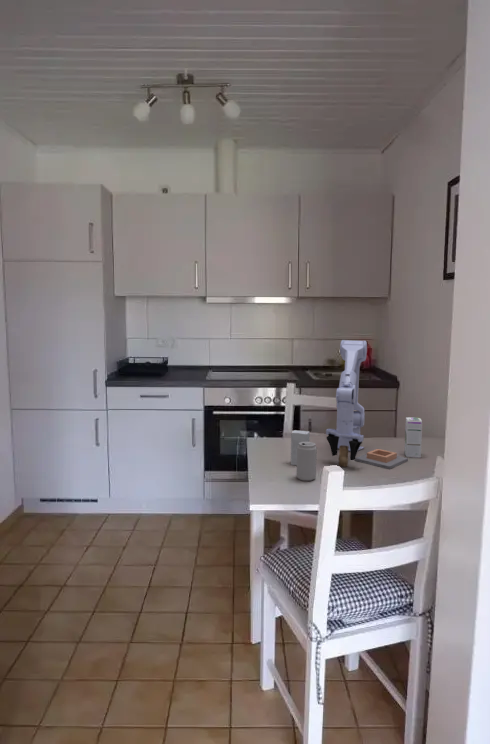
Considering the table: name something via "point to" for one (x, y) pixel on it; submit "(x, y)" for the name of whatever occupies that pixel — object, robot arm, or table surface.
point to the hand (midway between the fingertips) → (343, 457)
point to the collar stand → (382, 458)
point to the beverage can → (306, 461)
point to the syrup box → (413, 437)
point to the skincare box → (297, 443)
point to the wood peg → (343, 456)
